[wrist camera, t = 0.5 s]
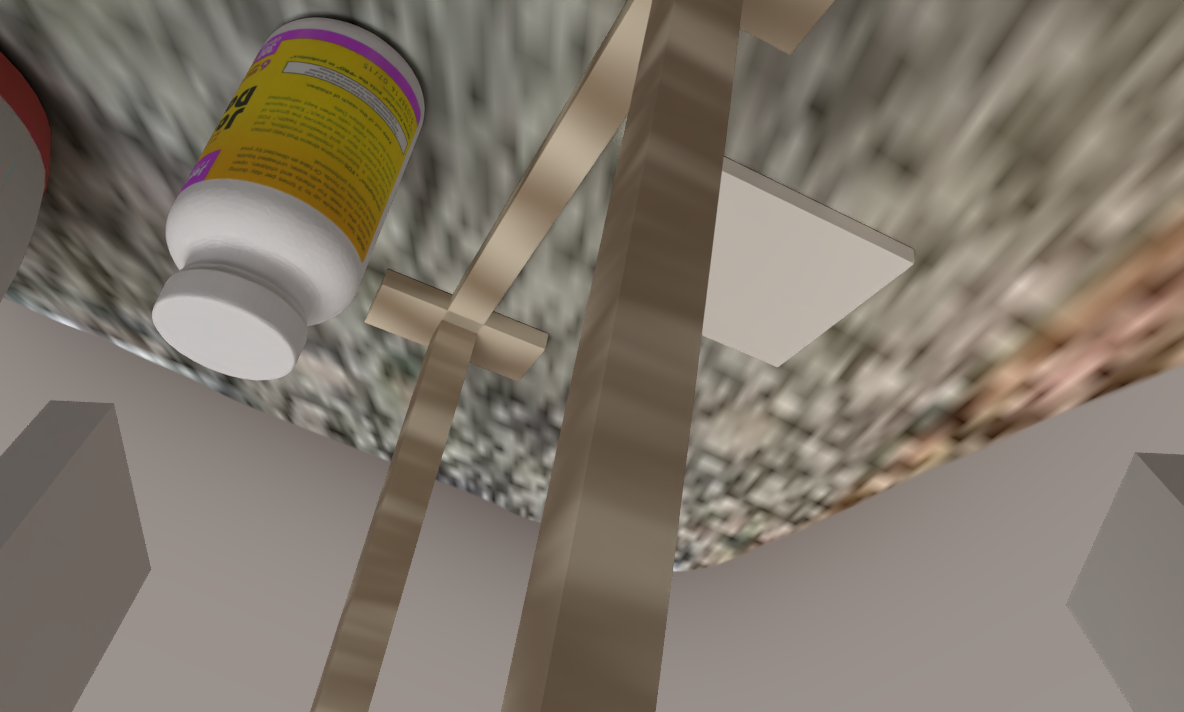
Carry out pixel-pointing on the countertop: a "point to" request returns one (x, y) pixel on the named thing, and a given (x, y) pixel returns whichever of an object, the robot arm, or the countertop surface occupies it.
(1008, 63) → the countertop surface
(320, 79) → the supplement bottle
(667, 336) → the gate frame
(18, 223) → the citrus juicer
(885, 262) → the coaster
